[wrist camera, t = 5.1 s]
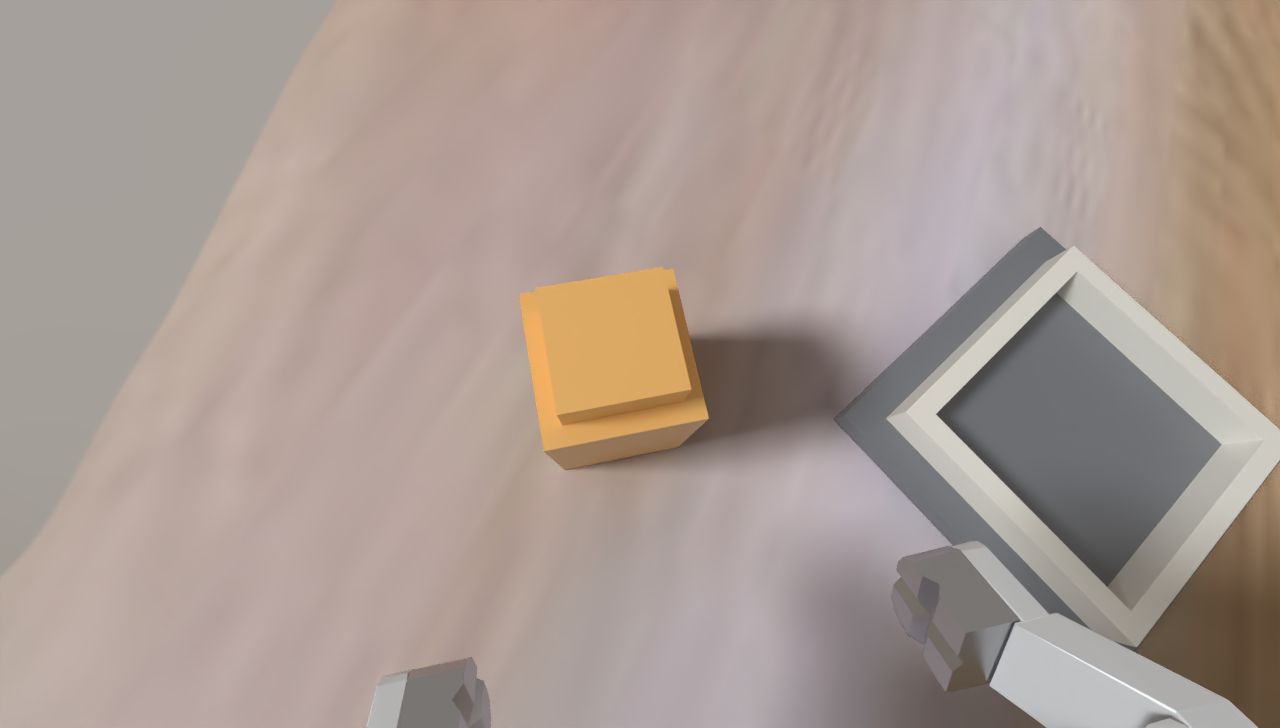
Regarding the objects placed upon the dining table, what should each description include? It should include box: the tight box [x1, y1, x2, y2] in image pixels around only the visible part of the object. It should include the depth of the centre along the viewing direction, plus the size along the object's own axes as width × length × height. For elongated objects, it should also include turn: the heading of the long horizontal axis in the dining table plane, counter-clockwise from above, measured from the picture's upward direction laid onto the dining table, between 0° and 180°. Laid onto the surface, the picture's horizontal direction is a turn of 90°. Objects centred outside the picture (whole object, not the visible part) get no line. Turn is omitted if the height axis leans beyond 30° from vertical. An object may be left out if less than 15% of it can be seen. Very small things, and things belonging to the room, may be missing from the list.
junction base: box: [834, 227, 1280, 652], centre depth 22 cm, size 13×13×2 cm
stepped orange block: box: [519, 267, 709, 470], centre depth 18 cm, size 5×5×9 cm
